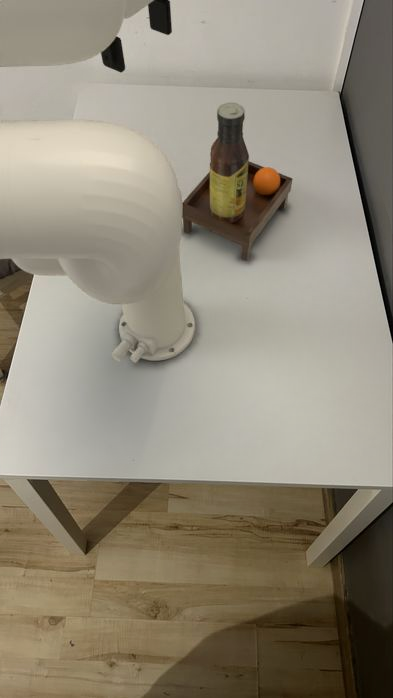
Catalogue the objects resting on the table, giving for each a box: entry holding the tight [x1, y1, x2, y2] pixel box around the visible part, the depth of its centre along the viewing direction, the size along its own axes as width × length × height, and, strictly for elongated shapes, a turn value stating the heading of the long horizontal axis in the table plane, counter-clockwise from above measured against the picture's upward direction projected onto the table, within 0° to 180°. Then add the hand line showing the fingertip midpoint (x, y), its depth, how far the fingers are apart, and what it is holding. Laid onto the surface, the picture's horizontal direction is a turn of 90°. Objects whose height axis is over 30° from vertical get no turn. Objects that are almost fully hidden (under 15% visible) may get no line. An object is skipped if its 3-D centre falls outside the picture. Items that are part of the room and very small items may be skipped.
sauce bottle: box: [209, 101, 250, 223], centre depth 81 cm, size 6×6×20 cm
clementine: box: [253, 166, 280, 195], centre depth 90 cm, size 5×5×5 cm
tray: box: [182, 160, 294, 262], centre depth 92 cm, size 16×14×7 cm
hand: (138, 49), depth 64 cm, fingers open, 9 cm apart
